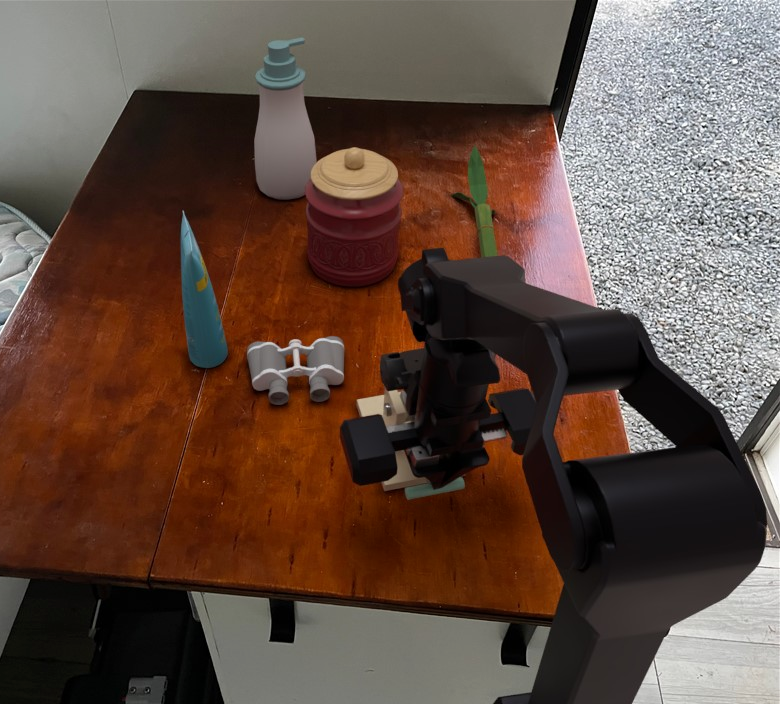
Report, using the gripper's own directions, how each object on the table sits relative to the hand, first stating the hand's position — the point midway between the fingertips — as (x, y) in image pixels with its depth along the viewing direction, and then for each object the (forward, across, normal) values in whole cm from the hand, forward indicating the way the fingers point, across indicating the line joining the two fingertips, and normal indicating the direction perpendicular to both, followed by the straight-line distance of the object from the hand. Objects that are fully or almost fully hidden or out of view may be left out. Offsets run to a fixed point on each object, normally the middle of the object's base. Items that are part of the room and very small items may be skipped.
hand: (435, 485), depth 71 cm
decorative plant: (+3, -20, -38) cm, 43 cm away
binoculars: (+3, +10, -20) cm, 23 cm away
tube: (+3, +20, -27) cm, 34 cm away
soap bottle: (+3, +4, -62) cm, 62 cm away
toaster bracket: (+3, 0, -8) cm, 9 cm away
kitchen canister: (+3, -2, -41) cm, 41 cm away
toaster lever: (0, 0, -5) cm, 5 cm away
